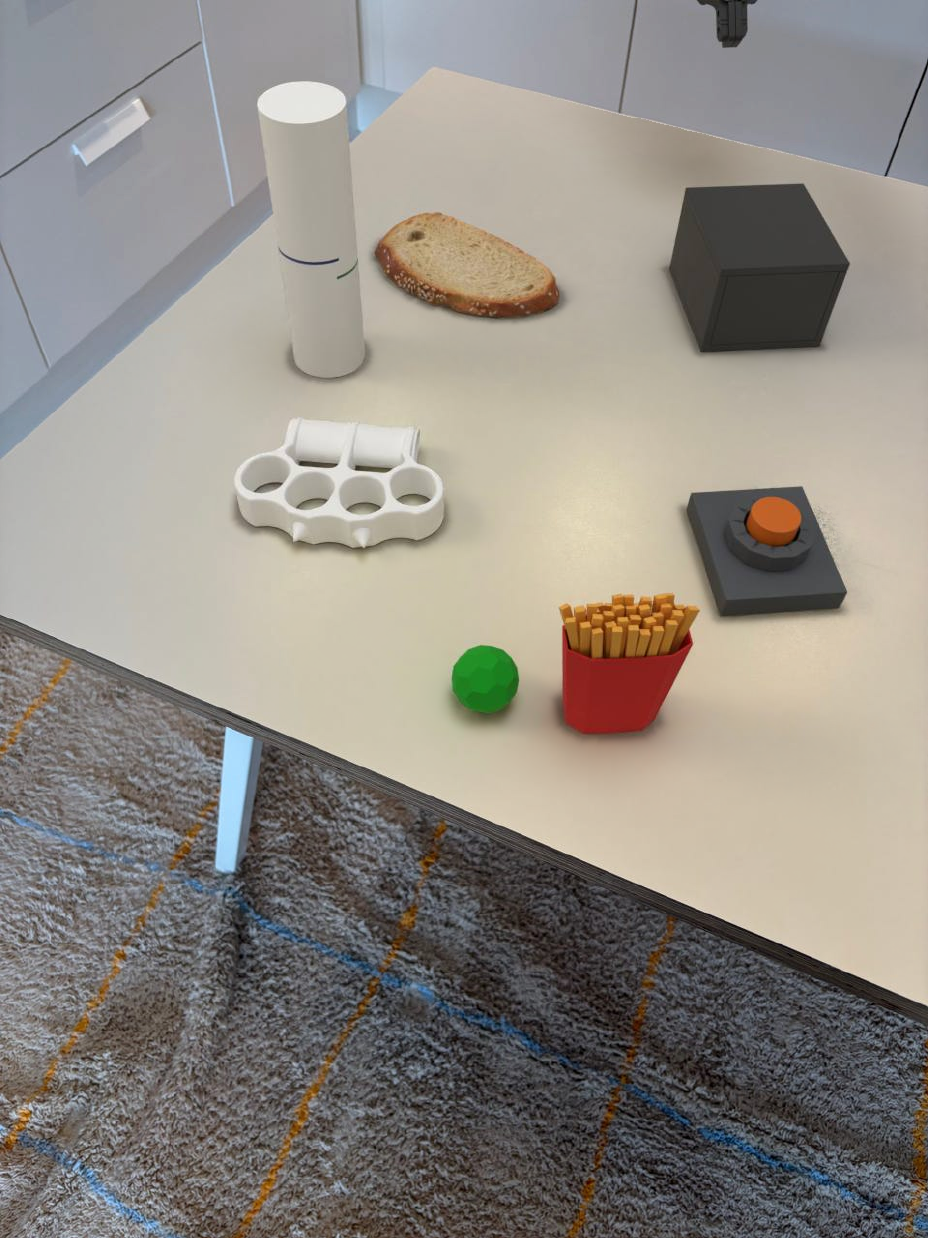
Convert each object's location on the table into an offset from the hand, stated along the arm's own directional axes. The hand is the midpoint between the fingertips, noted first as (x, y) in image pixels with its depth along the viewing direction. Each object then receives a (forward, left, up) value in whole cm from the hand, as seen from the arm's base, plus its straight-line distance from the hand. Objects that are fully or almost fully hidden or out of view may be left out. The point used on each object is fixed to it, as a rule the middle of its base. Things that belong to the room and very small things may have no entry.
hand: (732, 44), depth 104 cm
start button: (+8, +55, -14) cm, 57 cm away
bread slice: (+29, +12, -18) cm, 36 cm away
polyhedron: (+33, +67, -18) cm, 77 cm away
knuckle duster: (+43, +45, -18) cm, 65 cm away
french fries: (+24, +69, -18) cm, 75 cm away
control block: (+8, +55, -18) cm, 58 cm away
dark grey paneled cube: (0, +20, -18) cm, 27 cm away
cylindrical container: (+44, +25, -18) cm, 54 cm away
